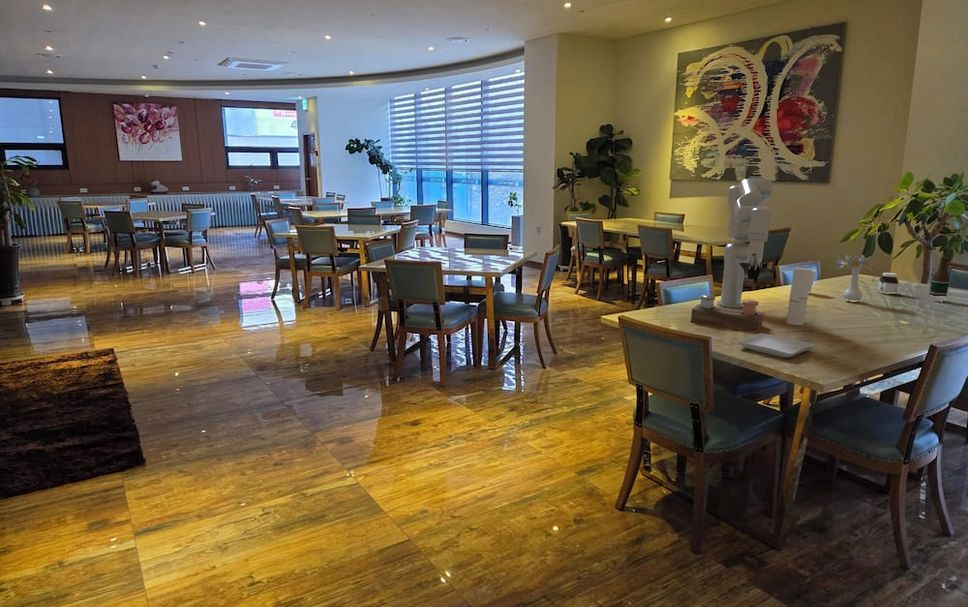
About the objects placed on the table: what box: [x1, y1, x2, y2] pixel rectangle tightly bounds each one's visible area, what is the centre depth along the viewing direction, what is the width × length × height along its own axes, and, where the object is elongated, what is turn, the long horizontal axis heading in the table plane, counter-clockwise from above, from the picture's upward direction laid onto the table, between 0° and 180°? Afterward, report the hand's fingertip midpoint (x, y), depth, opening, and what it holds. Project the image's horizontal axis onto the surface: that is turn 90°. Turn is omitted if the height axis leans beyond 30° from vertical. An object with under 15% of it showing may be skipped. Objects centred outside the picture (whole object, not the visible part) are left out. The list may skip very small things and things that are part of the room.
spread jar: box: [877, 272, 904, 293], centre depth 348 cm, size 12×11×12 cm
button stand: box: [690, 303, 764, 332], centre depth 275 cm, size 12×28×6 cm, turn 58°
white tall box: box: [786, 267, 813, 326], centre depth 275 cm, size 7×7×25 cm
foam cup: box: [809, 268, 817, 293], centre depth 347 cm, size 10×9×13 cm
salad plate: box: [736, 332, 815, 359], centre depth 237 cm, size 21×21×3 cm
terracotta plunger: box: [741, 299, 759, 316], centre depth 269 cm, size 6×6×6 cm
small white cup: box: [699, 294, 716, 310], centre depth 278 cm, size 6×6×6 cm
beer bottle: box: [928, 256, 951, 297], centre depth 331 cm, size 8×8×24 cm
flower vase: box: [835, 254, 877, 301], centre depth 325 cm, size 13×18×25 cm
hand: (753, 277), depth 266 cm, fingers open, 7 cm apart
